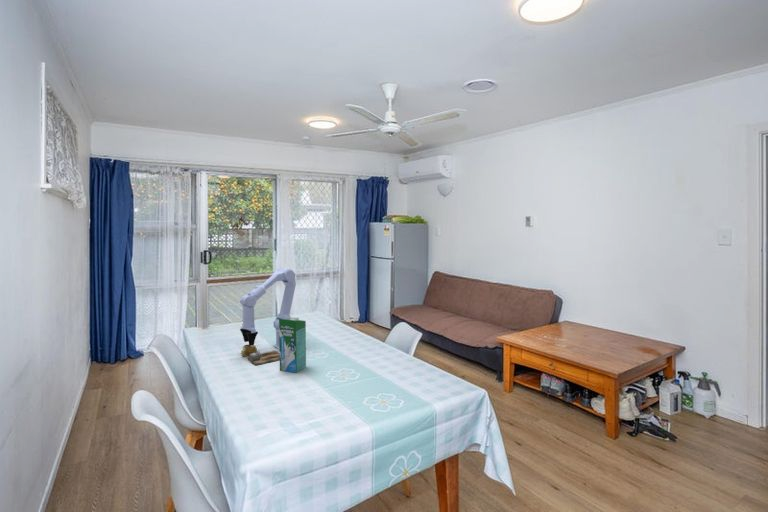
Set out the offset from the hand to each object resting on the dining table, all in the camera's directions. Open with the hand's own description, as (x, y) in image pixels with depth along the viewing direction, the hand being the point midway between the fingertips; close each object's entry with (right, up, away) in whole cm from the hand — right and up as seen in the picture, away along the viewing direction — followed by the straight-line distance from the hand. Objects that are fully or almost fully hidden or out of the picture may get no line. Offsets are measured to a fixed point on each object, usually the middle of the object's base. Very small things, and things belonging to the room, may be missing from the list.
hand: (249, 343), depth 208 cm
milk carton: (+27, -8, -18) cm, 33 cm away
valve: (0, -6, +1) cm, 7 cm away
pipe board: (+11, -7, -5) cm, 14 cm away
